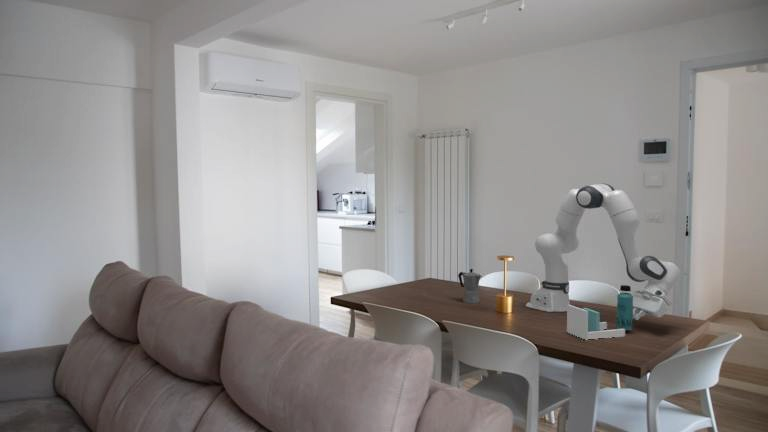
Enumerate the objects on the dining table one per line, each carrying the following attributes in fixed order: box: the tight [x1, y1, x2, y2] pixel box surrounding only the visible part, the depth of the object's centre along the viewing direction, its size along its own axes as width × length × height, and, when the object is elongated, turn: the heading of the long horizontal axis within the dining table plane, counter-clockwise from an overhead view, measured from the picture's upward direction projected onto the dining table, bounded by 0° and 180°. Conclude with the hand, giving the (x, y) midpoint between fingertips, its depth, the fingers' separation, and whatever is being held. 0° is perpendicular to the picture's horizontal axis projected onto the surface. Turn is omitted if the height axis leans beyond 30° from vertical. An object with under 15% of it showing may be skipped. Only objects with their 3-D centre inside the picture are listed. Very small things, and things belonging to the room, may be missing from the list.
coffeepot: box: [457, 268, 482, 304], centre depth 289 cm, size 15×9×18 cm, turn 44°
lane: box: [566, 304, 626, 341], centre depth 222 cm, size 19×12×12 cm, turn 105°
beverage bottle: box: [615, 284, 634, 331], centre depth 226 cm, size 6×7×20 cm
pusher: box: [582, 307, 601, 332], centre depth 222 cm, size 2×9×10 cm, turn 15°
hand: (634, 318), depth 228 cm, fingers closed
